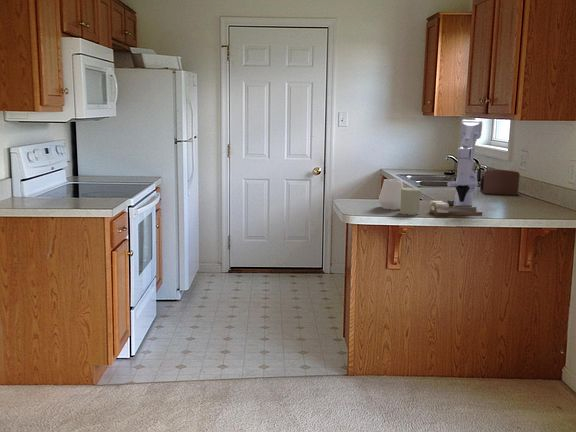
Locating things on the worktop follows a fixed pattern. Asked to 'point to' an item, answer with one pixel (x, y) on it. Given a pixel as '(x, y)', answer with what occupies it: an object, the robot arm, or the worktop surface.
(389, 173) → the worktop surface
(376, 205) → the worktop surface
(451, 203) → the bolt
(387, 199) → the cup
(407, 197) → the beige upright block
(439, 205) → the door board
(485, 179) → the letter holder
